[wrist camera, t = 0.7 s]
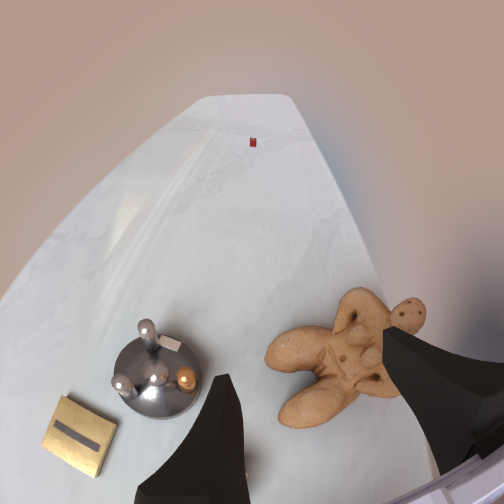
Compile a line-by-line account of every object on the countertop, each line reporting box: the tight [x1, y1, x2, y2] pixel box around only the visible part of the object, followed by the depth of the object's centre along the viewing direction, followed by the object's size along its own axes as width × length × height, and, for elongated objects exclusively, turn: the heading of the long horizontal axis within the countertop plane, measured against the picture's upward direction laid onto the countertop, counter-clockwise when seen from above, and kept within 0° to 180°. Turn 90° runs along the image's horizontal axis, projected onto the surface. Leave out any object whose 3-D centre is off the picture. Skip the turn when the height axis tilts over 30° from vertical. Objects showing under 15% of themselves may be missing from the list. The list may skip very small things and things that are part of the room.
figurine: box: [265, 287, 426, 429], centre depth 24 cm, size 11×9×15 cm
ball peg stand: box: [111, 319, 201, 420], centre depth 23 cm, size 8×8×6 cm
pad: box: [41, 395, 118, 478], centre depth 20 cm, size 6×6×1 cm
